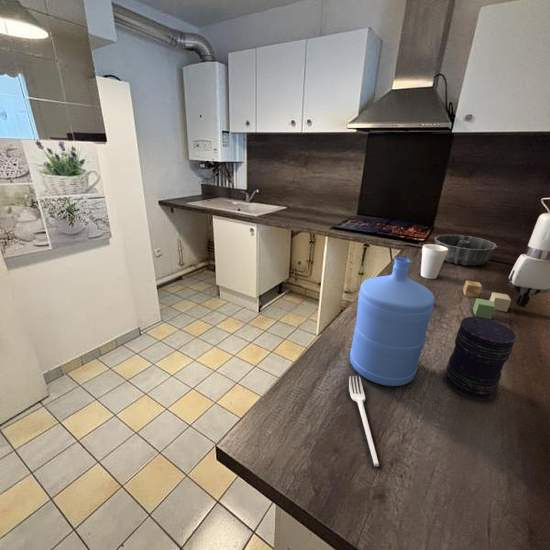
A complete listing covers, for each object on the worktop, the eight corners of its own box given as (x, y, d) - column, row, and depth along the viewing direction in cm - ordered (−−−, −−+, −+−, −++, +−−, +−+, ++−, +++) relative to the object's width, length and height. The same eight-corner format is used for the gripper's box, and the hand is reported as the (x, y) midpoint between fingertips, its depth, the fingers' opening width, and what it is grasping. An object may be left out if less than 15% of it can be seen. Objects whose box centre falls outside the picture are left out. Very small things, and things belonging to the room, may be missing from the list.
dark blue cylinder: (505, 394, 64) (529, 338, 58) (470, 404, 61) (492, 346, 56) (466, 365, 73) (483, 313, 67) (434, 372, 70) (449, 319, 64)
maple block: (476, 293, 112) (479, 282, 110) (478, 297, 108) (482, 286, 106) (462, 290, 113) (465, 280, 112) (464, 295, 110) (467, 284, 108)
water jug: (429, 384, 67) (462, 271, 56) (365, 391, 64) (387, 275, 53) (393, 343, 81) (414, 247, 70) (340, 348, 78) (352, 249, 67)
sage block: (488, 312, 98) (492, 300, 96) (491, 319, 94) (495, 306, 92) (472, 309, 99) (476, 298, 98) (474, 315, 96) (478, 303, 94)
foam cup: (442, 281, 121) (449, 252, 116) (417, 278, 124) (424, 249, 119) (438, 273, 129) (445, 245, 124) (416, 270, 132) (422, 243, 127)
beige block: (503, 306, 102) (507, 294, 101) (506, 311, 99) (511, 300, 97) (488, 303, 104) (492, 292, 102) (491, 309, 100) (495, 297, 98)
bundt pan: (435, 266, 138) (440, 245, 134) (426, 249, 162) (430, 232, 158) (499, 273, 131) (507, 252, 128) (480, 255, 155) (486, 236, 151)
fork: (366, 467, 49) (368, 459, 48) (346, 381, 68) (347, 375, 67) (386, 468, 49) (388, 461, 48) (360, 382, 67) (361, 376, 67)
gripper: (566, 254, 91) (543, 305, 99) (508, 247, 97) (491, 296, 104) (577, 261, 85) (552, 315, 92) (515, 253, 91) (496, 305, 98)
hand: (520, 305), depth 98 cm, fingers closed
